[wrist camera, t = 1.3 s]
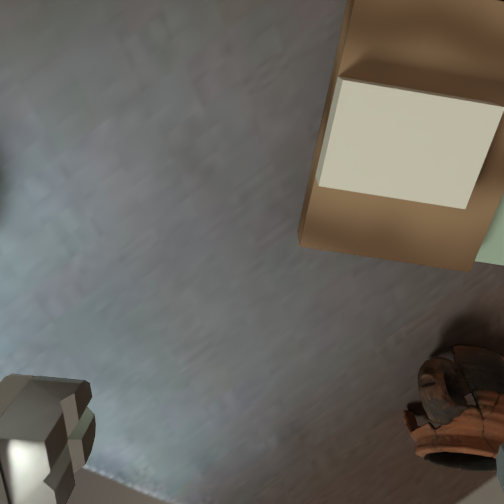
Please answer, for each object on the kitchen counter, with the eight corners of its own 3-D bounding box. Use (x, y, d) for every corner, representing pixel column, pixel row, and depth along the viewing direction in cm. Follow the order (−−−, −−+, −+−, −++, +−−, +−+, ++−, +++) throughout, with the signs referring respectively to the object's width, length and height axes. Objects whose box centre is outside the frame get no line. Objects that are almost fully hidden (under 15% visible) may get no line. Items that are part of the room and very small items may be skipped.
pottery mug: (535, 373, 39) (553, 477, 35) (431, 385, 45) (435, 474, 41) (470, 314, 33) (482, 432, 28) (361, 337, 39) (356, 436, 35)
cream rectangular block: (315, 176, 29) (318, 186, 27) (337, 76, 26) (342, 80, 24) (453, 198, 29) (465, 209, 27) (489, 101, 26) (505, 107, 25)
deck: (352, -20, 26) (359, -25, 24) (552, 15, 27) (578, 14, 24) (297, 231, 33) (299, 246, 31) (456, 255, 34) (469, 272, 31)
